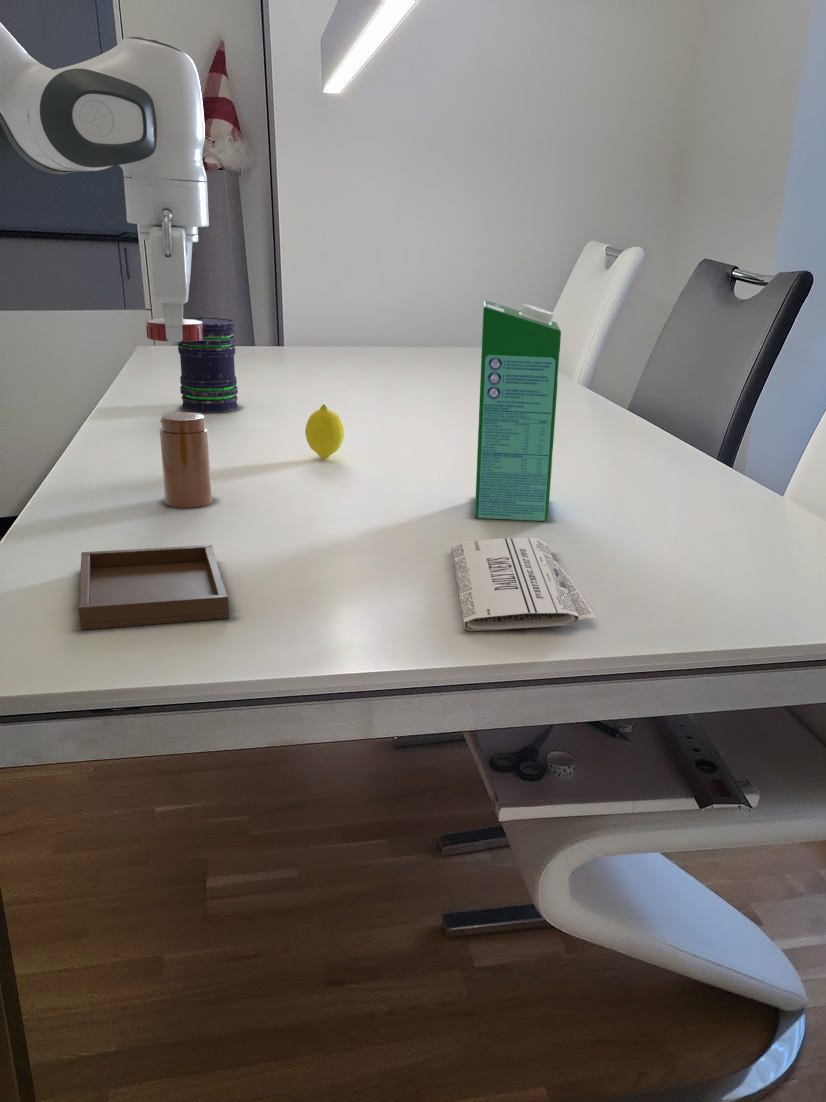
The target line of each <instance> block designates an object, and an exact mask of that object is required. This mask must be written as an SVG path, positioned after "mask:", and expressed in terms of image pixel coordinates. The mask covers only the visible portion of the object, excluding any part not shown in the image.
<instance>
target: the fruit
mask: <svg viewBox="0 0 826 1102" xmlns="http://www.w3.org/2000/svg"><path fill="white" fill-rule="evenodd" d="M304 432H305V439H306V442H307V444H308V446H309V448H310V449H311V450H312V451H313V452H314V453H316V454H317V456H318V458H320V459H322V460H326V459H328V458H329V457H331V456H332V455H333V454H334V453H336V452H338V450H339V449H340V448H341V446H342V444H343V441H344V439H345V438H344V437H345V430H344V426H343V423H342V420H341V418H340V416H339V414H337V413H335V412H334V411H332V410H330V409H328V406H327V405H326V404H324V403H323V404H322V405H320V408H319V409H317V410H316V411H314V412H313V413H311V414H310V416H309V418H308V419H307V422H306V426H305V431H304Z"/></svg>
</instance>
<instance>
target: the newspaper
mask: <svg viewBox="0 0 826 1102" xmlns="http://www.w3.org/2000/svg"><path fill="white" fill-rule="evenodd" d="M450 549H451V555H452V561H453V568H454V574H455V579H456V587H457V592H458V598H459V606H460V610H461V617H462V623H463V629H466V630H468V631H470V632H472V631H473V632H474V631H475V632H476V631H503V630H513V629H531V628H534V629H535V628H548V627H561V626H573V625H574V624H576V623H578V622H579V621H581V620H584V619H586V620H587V619H592V618H593V619H597V617H596V615H595V613H594V612H593V610H592V609H591V608H590V606H589V604H588V603H587V601H586V600H585V599H584V596H583V595H582V594H581V592H580V591H579V589H578V588H577V586H576V584H575V583H574V581H573V580H572V579H571V577H570V576H569V575H568V573H566V571H565V570H564V569H563V568H562V567H561V566H560V564H558V562H557V561H556V560H555V559H554V557H553V555H552V552H551V550H550V548H549V547H548V544H547V542H544V541H543V540H541V539H539V538H538V537H502V538H491V539H481V540H469V541H468V540H467V541H460V542H458V543H455V544H452V545H451V548H450Z"/></svg>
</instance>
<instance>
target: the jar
mask: <svg viewBox="0 0 826 1102" xmlns="http://www.w3.org/2000/svg"><path fill="white" fill-rule="evenodd" d="M205 421H206V420H205V415H203V413H199V412H190V411H187V412H185V411H183V412H181V411H179V412H170V413H164V414H162V415H161V417H160V423H161V428H159V439H160V440H159V442H160V453H161V466H162V480H163V492H164V494H163V495H164V504H165V505H166V506H168V507H173V508H178V509H179V508H181V509H193V508H201V507H206V506H208V505H210V504H212V502H213V499H212V498H213V497H212V481H211V480H212V479H211V462H210V447H209V446H210V445H209V429H208V428H207V427H206V422H205Z"/></svg>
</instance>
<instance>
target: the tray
mask: <svg viewBox="0 0 826 1102" xmlns="http://www.w3.org/2000/svg"><path fill="white" fill-rule="evenodd" d="M80 553H81V555H80V572H79V575H80V576H79V593H78V595H79V596H78V614H79V623H80V630H81V631H86V630H99V629H109V628H111V629H113V628H123V627H134V626H135V627H136V626H150V625H160V624H161V625H162V624H163V625H164V624H175V623H187V622H200V621H211V620H212V621H214V620H225V619H229V618H230V613H229V612H230V607H229V596H228V593H227V590H226V587H225V583H224V580H223V576H222V573H221V571H220V567H219V563H218V560H217V558H216V554H215V551H214V548H213V545H212V544H202V545H201V544H200V545H187V546H186V545H185V546H184V545H183V546H165V547H148V548H147V547H146V548H132V549H114V550H112V549H111V550H96V551H81V552H80Z"/></svg>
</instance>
